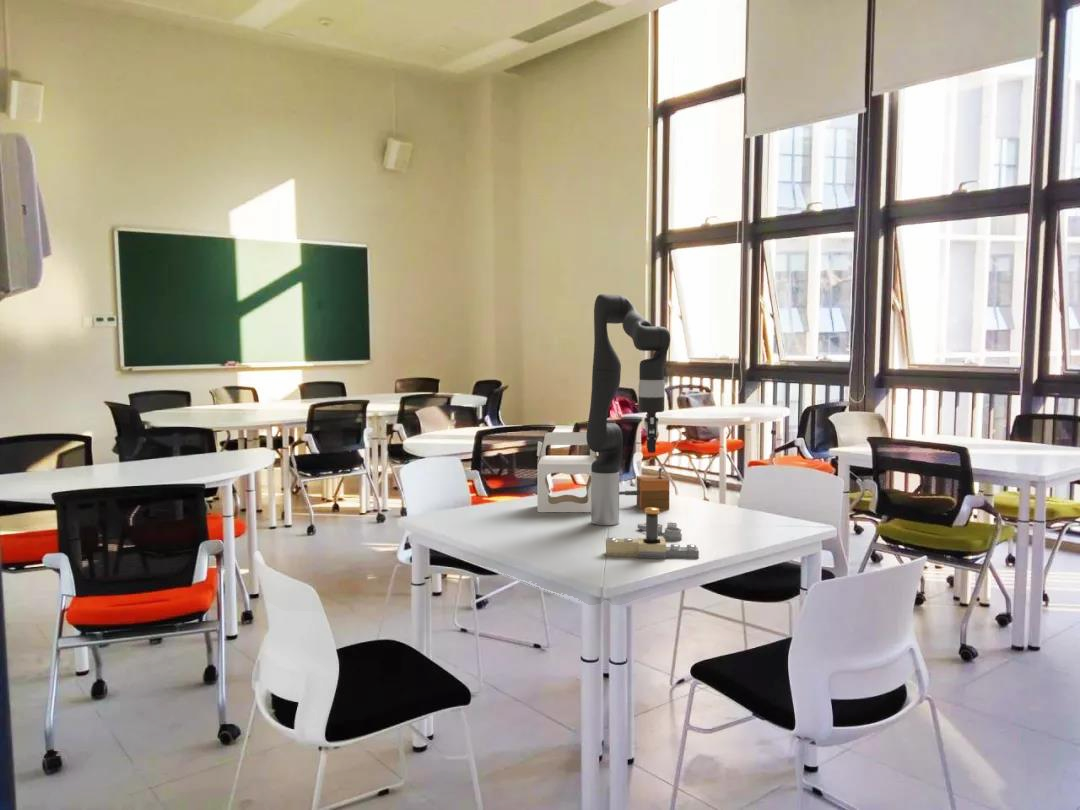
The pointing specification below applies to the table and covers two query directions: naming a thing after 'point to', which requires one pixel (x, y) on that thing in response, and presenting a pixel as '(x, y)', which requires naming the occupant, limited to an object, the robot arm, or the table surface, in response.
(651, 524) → the pin
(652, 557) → the chain end
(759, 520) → the table surface
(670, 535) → the pulley system
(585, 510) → the white open frame
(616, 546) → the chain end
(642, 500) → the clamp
